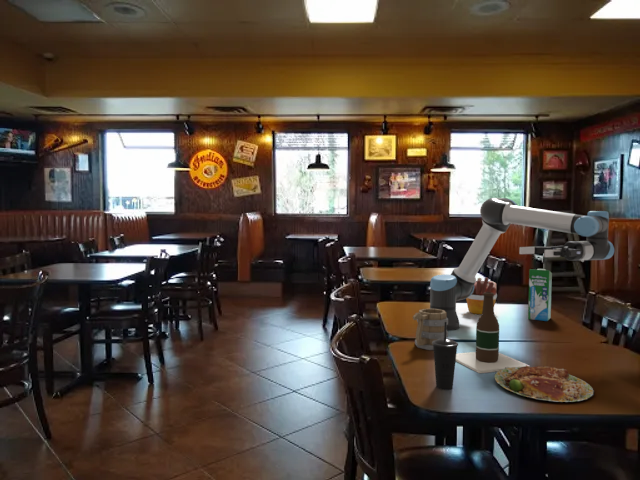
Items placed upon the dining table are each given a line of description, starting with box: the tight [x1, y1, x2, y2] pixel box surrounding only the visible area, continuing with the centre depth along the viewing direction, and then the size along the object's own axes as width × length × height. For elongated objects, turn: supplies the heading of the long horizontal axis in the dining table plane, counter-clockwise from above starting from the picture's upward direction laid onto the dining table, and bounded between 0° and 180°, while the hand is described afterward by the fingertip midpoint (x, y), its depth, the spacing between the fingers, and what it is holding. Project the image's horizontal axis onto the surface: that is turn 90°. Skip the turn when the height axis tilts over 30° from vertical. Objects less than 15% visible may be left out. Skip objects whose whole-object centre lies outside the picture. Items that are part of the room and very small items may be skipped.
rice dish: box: [494, 364, 595, 403], centre depth 154 cm, size 28×28×5 cm
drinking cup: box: [432, 322, 459, 391], centre depth 153 cm, size 8×8×20 cm
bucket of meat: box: [465, 277, 498, 316], centre depth 265 cm, size 20×16×20 cm
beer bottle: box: [475, 292, 500, 363], centre depth 178 cm, size 8×8×24 cm
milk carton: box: [527, 268, 553, 322], centre depth 252 cm, size 9×9×25 cm
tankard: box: [412, 308, 449, 351], centre depth 197 cm, size 20×13×15 cm, turn 135°
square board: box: [455, 351, 531, 374], centre depth 179 cm, size 20×20×1 cm
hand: (532, 252), depth 192 cm, fingers open, 13 cm apart
